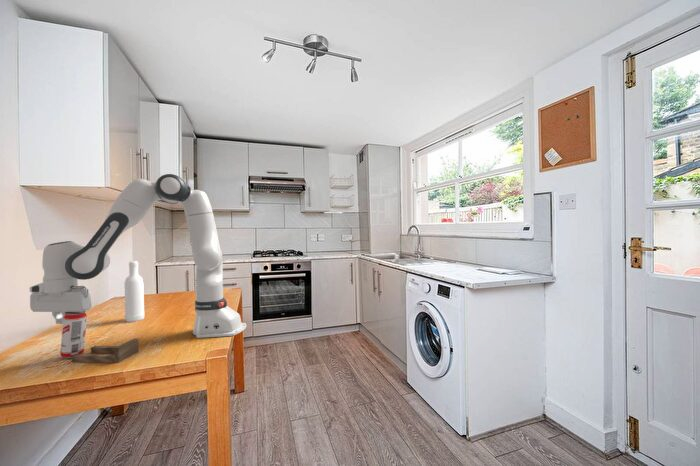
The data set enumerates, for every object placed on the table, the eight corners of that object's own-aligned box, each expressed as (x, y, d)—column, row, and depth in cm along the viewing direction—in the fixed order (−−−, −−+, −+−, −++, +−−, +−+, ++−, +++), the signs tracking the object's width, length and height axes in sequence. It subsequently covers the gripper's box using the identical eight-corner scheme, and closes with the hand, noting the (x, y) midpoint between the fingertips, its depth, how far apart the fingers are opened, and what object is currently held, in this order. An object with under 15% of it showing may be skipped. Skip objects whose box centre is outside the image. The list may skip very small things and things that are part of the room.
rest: (138, 351, 106) (138, 338, 106) (119, 362, 98) (118, 348, 97) (94, 351, 107) (94, 338, 107) (71, 361, 99) (71, 347, 98)
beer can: (62, 361, 99) (66, 316, 98) (57, 354, 102) (61, 311, 102) (86, 355, 104) (90, 312, 104) (80, 349, 107) (84, 308, 107)
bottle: (148, 317, 148) (147, 260, 148) (135, 322, 140) (134, 262, 140) (134, 317, 149) (133, 260, 148) (120, 322, 141) (119, 262, 141)
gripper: (96, 284, 105) (97, 320, 106) (44, 284, 107) (46, 320, 107) (78, 287, 99) (80, 326, 99) (24, 287, 100) (26, 326, 101)
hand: (62, 323), depth 103 cm, fingers closed
